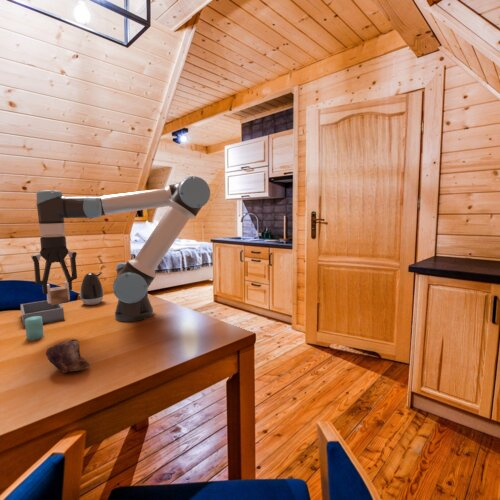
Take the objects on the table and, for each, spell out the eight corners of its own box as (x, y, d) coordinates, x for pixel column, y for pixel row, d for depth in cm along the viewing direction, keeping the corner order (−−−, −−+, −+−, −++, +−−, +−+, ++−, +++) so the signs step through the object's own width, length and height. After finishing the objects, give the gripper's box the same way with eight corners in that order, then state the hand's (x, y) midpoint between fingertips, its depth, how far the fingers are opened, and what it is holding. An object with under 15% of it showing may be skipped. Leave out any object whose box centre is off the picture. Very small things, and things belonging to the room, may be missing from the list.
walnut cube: (65, 299, 115) (64, 286, 114) (68, 302, 111) (67, 288, 110) (49, 302, 111) (48, 288, 111) (52, 305, 108) (50, 291, 107)
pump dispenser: (109, 302, 153) (107, 271, 151) (88, 308, 144) (86, 275, 142) (96, 299, 158) (94, 269, 156) (76, 304, 149) (73, 273, 147)
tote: (64, 319, 129) (63, 307, 128) (23, 327, 120) (22, 315, 120) (58, 309, 142) (57, 298, 142) (21, 315, 134) (20, 304, 133)
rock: (85, 361, 95) (46, 370, 90) (83, 333, 96) (43, 340, 90) (92, 371, 86) (48, 382, 80) (89, 340, 86) (46, 348, 80)
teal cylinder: (46, 334, 114) (44, 315, 113) (39, 339, 109) (37, 320, 108) (31, 335, 113) (29, 316, 112) (23, 340, 108) (21, 321, 107)
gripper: (78, 233, 117) (83, 294, 120) (19, 236, 105) (26, 304, 108) (84, 234, 111) (89, 298, 114) (22, 238, 99) (29, 309, 102)
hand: (58, 300), depth 111 cm, fingers closed on walnut cube, 5 cm apart
